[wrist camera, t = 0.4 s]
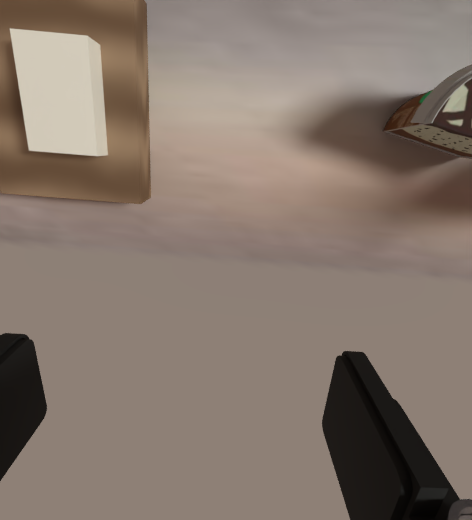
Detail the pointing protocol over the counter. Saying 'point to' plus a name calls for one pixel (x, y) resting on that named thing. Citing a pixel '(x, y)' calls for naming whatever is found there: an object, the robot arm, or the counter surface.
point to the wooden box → (115, 102)
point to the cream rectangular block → (61, 92)
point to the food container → (439, 116)
